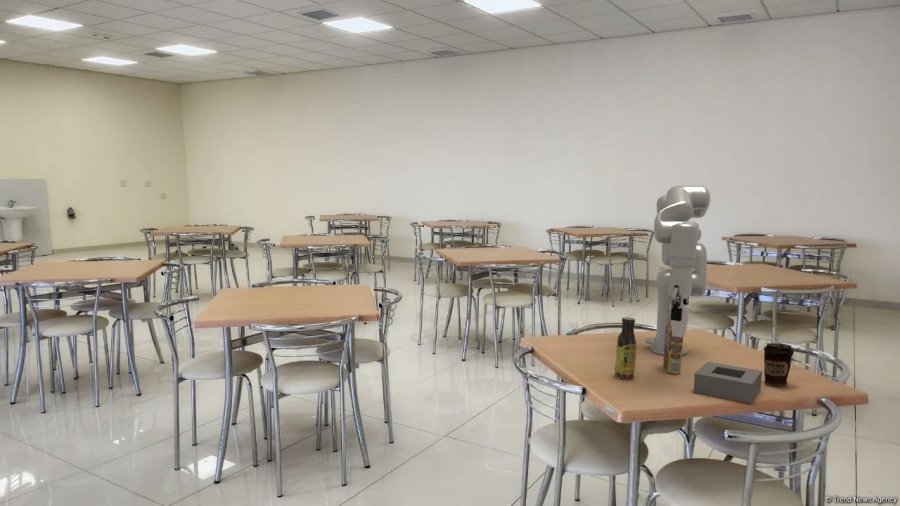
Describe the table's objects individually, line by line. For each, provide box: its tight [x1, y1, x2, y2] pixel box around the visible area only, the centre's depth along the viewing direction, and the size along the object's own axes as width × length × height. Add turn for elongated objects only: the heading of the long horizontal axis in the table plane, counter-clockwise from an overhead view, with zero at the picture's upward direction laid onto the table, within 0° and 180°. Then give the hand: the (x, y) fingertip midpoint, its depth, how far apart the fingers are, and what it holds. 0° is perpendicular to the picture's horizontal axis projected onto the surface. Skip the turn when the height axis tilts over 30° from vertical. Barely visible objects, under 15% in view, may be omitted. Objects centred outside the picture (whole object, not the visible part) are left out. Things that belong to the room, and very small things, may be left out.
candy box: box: [662, 324, 684, 375], centre depth 205 cm, size 9×4×15 cm, turn 172°
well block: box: [693, 361, 763, 405], centre depth 185 cm, size 16×16×6 cm
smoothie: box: [669, 300, 692, 338], centre depth 189 cm, size 6×6×14 cm
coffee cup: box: [763, 342, 794, 388], centre depth 191 cm, size 9×8×13 cm
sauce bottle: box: [614, 316, 638, 380], centre depth 196 cm, size 6×6×20 cm
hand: (679, 318), depth 189 cm, fingers closed on smoothie, 6 cm apart
